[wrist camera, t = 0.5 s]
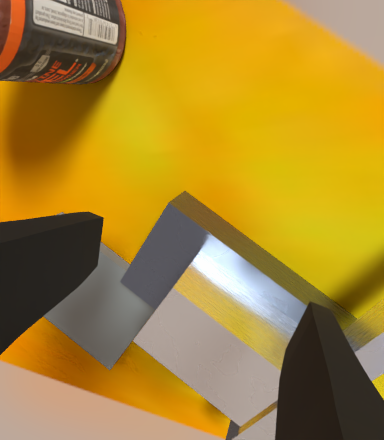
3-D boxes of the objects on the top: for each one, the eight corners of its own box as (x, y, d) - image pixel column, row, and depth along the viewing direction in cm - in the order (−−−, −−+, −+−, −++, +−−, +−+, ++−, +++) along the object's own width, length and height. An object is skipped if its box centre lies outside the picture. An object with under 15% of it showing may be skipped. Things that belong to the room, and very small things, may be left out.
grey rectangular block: (301, 327, 18) (298, 384, 14) (253, 368, 20) (240, 427, 16) (200, 250, 18) (172, 287, 15) (164, 298, 20) (132, 340, 17)
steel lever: (486, 224, 15) (552, 275, 11) (257, 399, 24) (245, 465, 19) (450, 199, 15) (501, 240, 11) (236, 382, 24) (218, 443, 20)
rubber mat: (167, 293, 23) (162, 299, 23) (114, 363, 28) (109, 370, 27) (62, 212, 24) (54, 215, 23) (28, 293, 29) (21, 298, 28)
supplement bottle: (65, 96, 21) (-167, 98, 11) (30, -8, 19) (-282, -120, 9) (144, 68, 18) (-61, 36, 8) (112, -54, 17) (-190, -274, 7)
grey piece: (358, 319, 19) (364, 349, 17) (283, 377, 22) (280, 408, 20) (184, 190, 20) (169, 202, 18) (138, 264, 23) (119, 281, 21)
